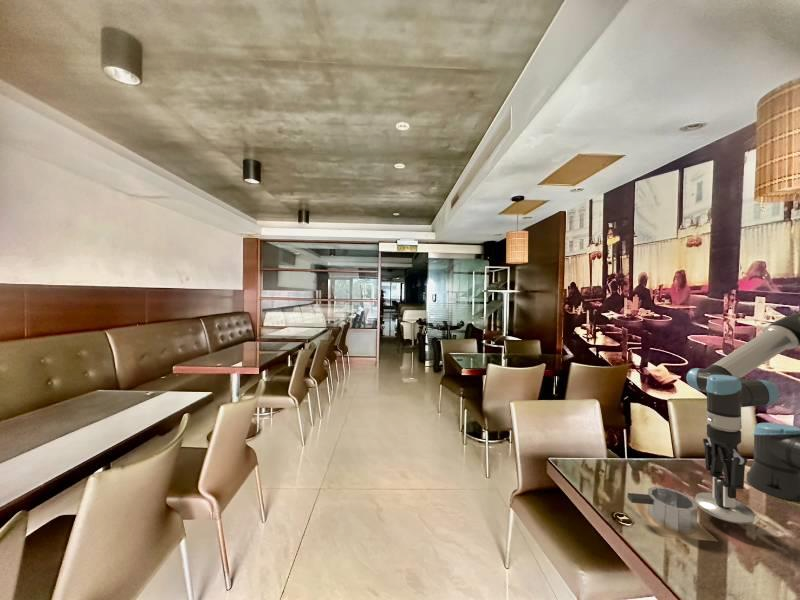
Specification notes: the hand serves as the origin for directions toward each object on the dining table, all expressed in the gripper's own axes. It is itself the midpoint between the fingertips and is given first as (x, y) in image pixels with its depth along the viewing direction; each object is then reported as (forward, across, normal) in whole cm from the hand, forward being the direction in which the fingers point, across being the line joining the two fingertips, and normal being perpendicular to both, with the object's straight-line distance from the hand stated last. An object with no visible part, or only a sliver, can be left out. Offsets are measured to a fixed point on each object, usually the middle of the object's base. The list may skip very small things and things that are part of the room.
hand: (723, 502), depth 101 cm
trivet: (+6, +2, -16) cm, 17 cm away
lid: (+2, 0, 0) cm, 2 cm away
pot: (+5, +2, -19) cm, 20 cm away
